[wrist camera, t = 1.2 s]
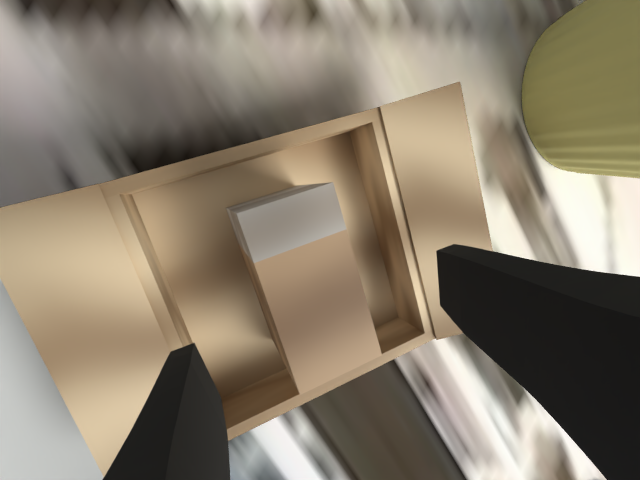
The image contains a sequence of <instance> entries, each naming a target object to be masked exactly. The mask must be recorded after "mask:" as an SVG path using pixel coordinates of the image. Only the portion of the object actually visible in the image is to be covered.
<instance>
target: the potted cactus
mask: <svg viewBox="0 0 640 480" xmlns="http://www.w3.org/2000/svg"><path fill="white" fill-rule="evenodd" d="M522 109H523V116H524V121H525V125H526V128H527V131H528V134H529V136H530V138H531V140H532V142H533V144H534V146H535V148H536V149H537V150H538V152H539V153H540V154H541V155H542V157H543V158H544V159H545V160H547V161H548V162H549V163H550V164H552V165H553V166H555V167H557V168H559V169H562V170H566V171H571V172H576V173H585V174H596V175H608V176H620V177H631V178H640V0H586V1H584V2H583V3H581V4H580V5H578V6H577V7H575V8H574V9H572V10H571V11H569V12H568V13H566V14H565V15H563V16H562V17H560V18H559V19H558V20H557V21H556V22H554V23H553V24H552V25H551V26H549V27H548V28H547V29H546V30H545V31H544V32H543V34H542V35H541V36H540V38H539V39H538V40H537V42H536V43H535V45H534V47H533V49H532V51H531V53H530V55H529V58H528V61H527V64H526V68H525V71H524V76H523V83H522Z"/></svg>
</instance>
